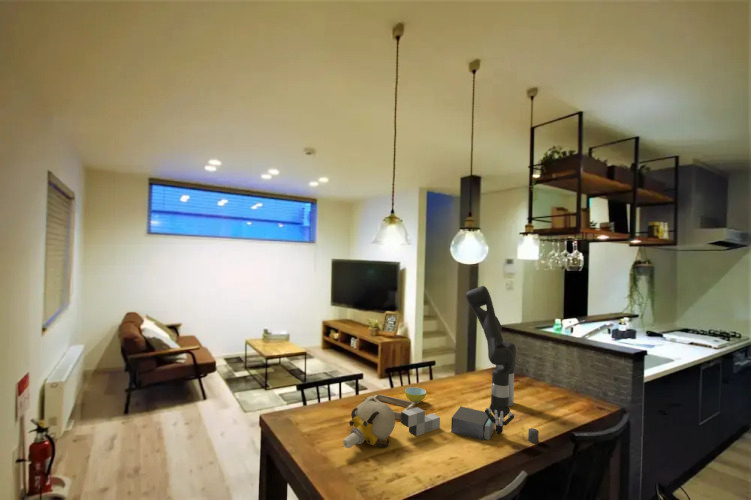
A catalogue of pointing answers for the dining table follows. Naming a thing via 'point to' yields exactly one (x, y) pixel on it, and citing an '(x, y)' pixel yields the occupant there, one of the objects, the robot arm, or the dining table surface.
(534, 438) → the capsule
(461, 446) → the dining table surface
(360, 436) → the decorative object
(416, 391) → the bowl
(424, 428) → the block
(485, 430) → the tray
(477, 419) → the housing
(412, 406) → the serving frame
